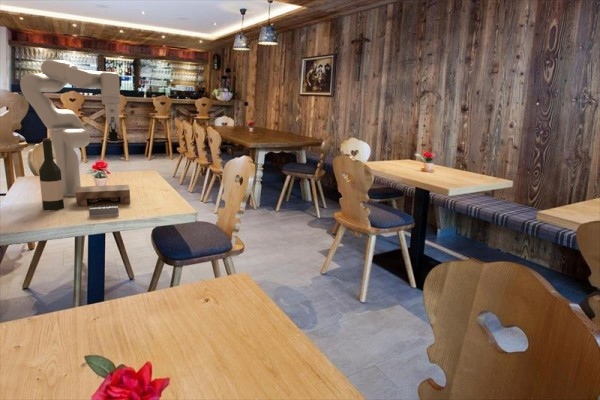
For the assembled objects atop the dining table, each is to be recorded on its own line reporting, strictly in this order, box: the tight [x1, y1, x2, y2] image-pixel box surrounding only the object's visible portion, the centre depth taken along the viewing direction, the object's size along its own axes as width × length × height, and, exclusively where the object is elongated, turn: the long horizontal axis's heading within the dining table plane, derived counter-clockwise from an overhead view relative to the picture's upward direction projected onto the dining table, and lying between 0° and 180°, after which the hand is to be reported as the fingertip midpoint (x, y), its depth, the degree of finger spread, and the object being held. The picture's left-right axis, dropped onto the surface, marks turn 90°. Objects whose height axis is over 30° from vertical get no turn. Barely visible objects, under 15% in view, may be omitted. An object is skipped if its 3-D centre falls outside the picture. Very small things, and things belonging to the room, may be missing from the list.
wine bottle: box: [38, 137, 65, 211], centre depth 186 cm, size 8×8×30 cm
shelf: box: [75, 184, 131, 208], centre depth 202 cm, size 22×12×6 cm, turn 114°
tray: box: [88, 203, 120, 218], centre depth 187 cm, size 11×16×4 cm
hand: (113, 139), depth 198 cm, fingers open, 9 cm apart
